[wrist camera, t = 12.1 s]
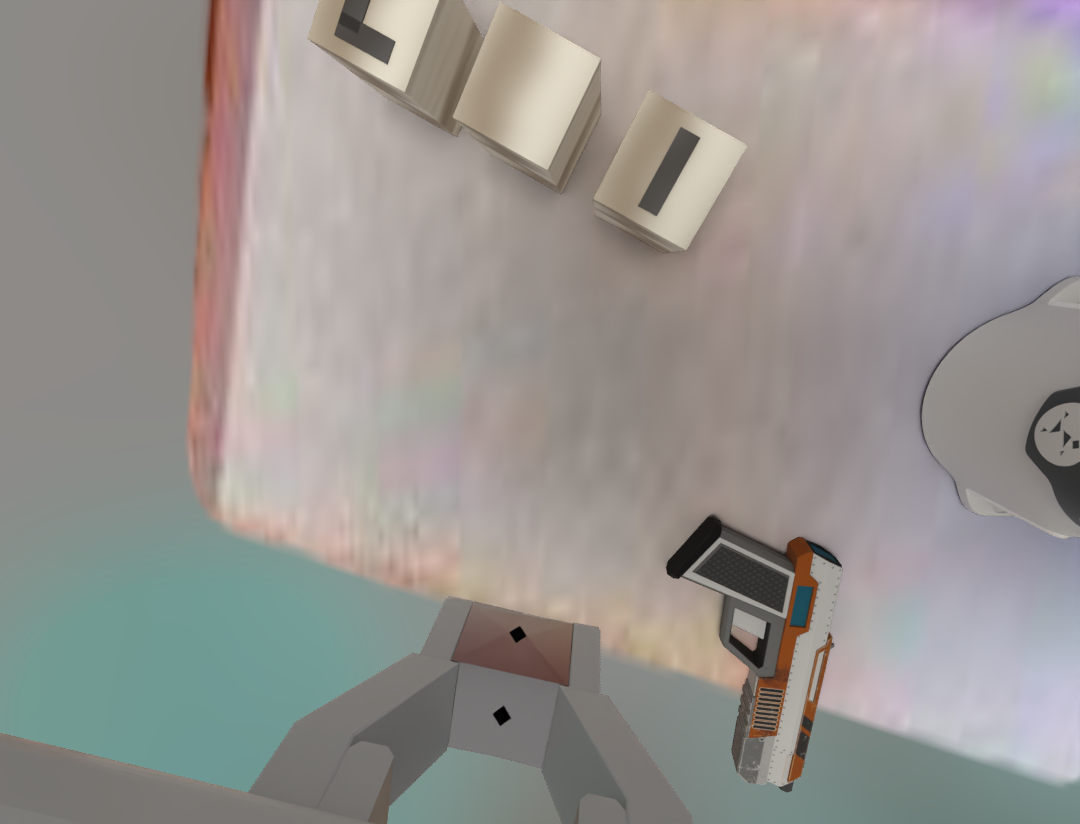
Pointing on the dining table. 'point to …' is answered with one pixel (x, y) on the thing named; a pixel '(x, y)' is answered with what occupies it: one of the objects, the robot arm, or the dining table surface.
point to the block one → (666, 175)
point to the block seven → (404, 50)
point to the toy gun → (769, 639)
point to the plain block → (531, 98)
